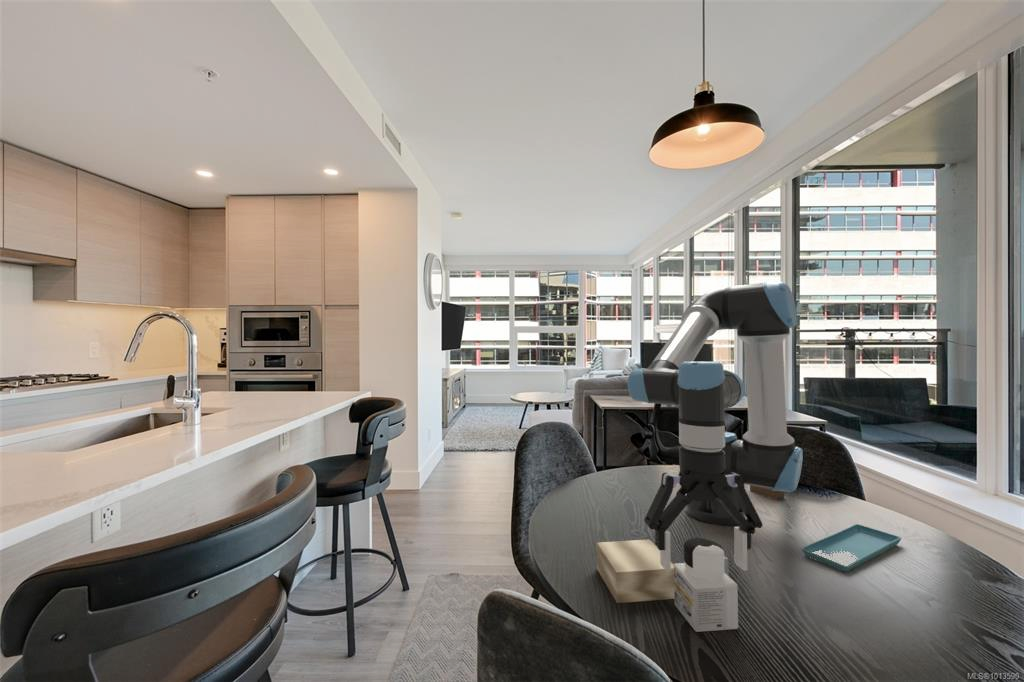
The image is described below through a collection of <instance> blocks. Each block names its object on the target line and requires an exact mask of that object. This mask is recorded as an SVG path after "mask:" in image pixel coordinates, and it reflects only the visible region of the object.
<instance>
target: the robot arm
mask: <svg viewBox="0 0 1024 682" xmlns="http://www.w3.org/2000/svg"><path fill="white" fill-rule="evenodd" d="M681 314H682V315H681V319H680V324H679V325H678V326H677V328H676V329H675V330H674V332H673V333H672V335H671V336H670V337H669V339H668V340H667V341H666V343H665V344H664V345H663V347H662V348H661V349H660V351H659V353H658V354H657V355H656V356H655V358H654V360H653V361H652V362H651V363H650V364H649V366H648V367H647V368H644V367H641V368H635V369H633V370H631V372H630V373H629V375H628V378H627V390H628V394H629V396H630V397H631V399H632V400H634V401H635V402H641V403H647V404H658V405H673V406H678V443H679V444H680V447H679V448H678V451H679V452H678V461H679V462H678V463H679V465H678V466H679V472H678V475H677V474H676V475H674V474H669V473H667V472H663V473H662V474H661V481H660V486H659V488H658V490H657V492H656V495H654V498H653V500H652V503H650V507H649V509H648V511H647V513H646V515H645V518H644V519H643V520H644V523H645V524H646V526H647V527H648V528H649V529H650V530H654V533H655V534H654V537H655V542H654V544H655V546H656V547H657V548H658V549H659V550H660V564H661V565H662V566H663V568H664V569H665V570H666V572H671V562H672V561H671V559H672V558H671V554H672V553H671V533H670V531H668V529H669V528H670V526H671V525H672V524H673V523H674V522H675V521H676V520H677V518H678V517H679V515H680V514H681V513H682V512H683V511H684V510H685V509H686V513H687V514H688V515H689V516H690V517H692V518H694V519H696V520H699V521H702V522H704V523H705V522H706V523H709V524H714V525H720V526H733V539H734V540H733V542H734V543H733V544H734V545H733V547H734V550H733V552H734V554H733V556H734V564H736V566H737V567H739V569H741V570H742V571H743V572H745V571H747V572H748V550H751V548H752V535H754V534H755V533H756V529H762V528H763V522H762V520H761V518H760V517H759V514H758V512H757V510H756V509H755V505H754V504H753V502H752V501H751V498H750V496H749V494H748V492H747V490H746V489H745V485H747V486H750V485H752V486H756V487H761V488H766V489H771V490H773V491H776V490H777V491H784V493H785V492H786V493H793V492H794V491H796V489H797V487H798V484H799V481H800V478H801V473H802V468H803V467H802V466H803V457H804V454H803V449H802V447H799V446H796V445H795V438H794V437H793V436H792V435H790V434H789V433H788V429H787V425H788V424H787V408H786V407H787V406H786V405H787V403H786V385H785V363H784V362H785V361H784V343H783V342H784V341H785V339H787V337H788V336H789V335H790V334H791V331H790V328H791V329H792V328H795V327H796V326H797V323H798V318H797V308H796V301H795V299H794V295H793V292H792V291H791V288H790V287H789V285H788V284H786V283H785V282H783V281H776V282H775V281H772V282H771V281H769V282H767V281H765V282H761V283H759V282H758V283H750V284H742V285H732V286H722V287H718V288H715V289H713V290H710V291H708V292H706V293H704V294H703V295H701V296H699V297H698V298H697V299H695V300H693V302H692V303H691V304H689V305H688V307H686V309H685V310H684V312H683V313H681ZM721 330H736V331H737V332H736V334H737V337H738V339H740V340H741V341H742V342H744V343H743V345H744V360H745V361H744V363H745V364H744V365H745V380H746V381H745V383H746V384H744V382H743V379H741V377H740V376H739V375H738V374H736V373H735V372H733V371H730V370H729V371H728V370H726V369H724V365H723V363H721V362H719V361H705V360H704V361H698V360H697V361H695V359H696V358H697V356H698V354H699V352H700V351H701V349H702V348H703V346H704V344H705V343H706V341H707V340H708V338H710V337H711V336H713V335H715V334H716V333H717V331H721ZM745 385H746V387H745ZM745 389H746V401H747V402H746V403H747V420H748V422H747V423H748V424H747V425H748V430H747V431H746V432H745V433H744V434H743V435H742V439H738V436H737V434H736V433H734V432H729V431H725V430H726V429H725V428H726V427H725V424H726V423H725V410H726V409H730V408H732V407H734V406H735V405H737V404H738V403H740V402H741V400H742V399H743V398H744V396H745ZM677 484H679V486H681V487H679V489H677V491H676V493H675V494H676V495H675V496H674V497H673V499H672V500H671V501H670V502H669V500H670V498H671V495H672V493H673V489H674V488H676V487H677ZM668 503H669V504H668ZM667 504H668V505H667ZM666 505H667V506H666ZM734 525H738V526H734Z"/></svg>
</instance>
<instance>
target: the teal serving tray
mask: <svg viewBox="0 0 1024 682" xmlns="http://www.w3.org/2000/svg"><path fill="white" fill-rule="evenodd" d="M901 540H902V537H900V536H898V535H896V534H895V535H894V534H892V533H889V532H886V531H882V530H878V529H876V528H872V527H869V526H866V525H862V524H859V523H856V524H853V525H851V526H849V527H846V528H844V529H842V530H840V531H838V532H835V533H833V534H830V535H828V536H826V537H824V538H821V539H819V540H817V541H814V542H812V543H810V544H808V545H805V546H803V547H801V551H802V552H803V554H804V555H805V557H807V556H808V557H811V558H813V559H812V560H814V559H816V560H818V561H817V562H819V561H820V562H819V563H821V562H823V563H825V564H824V565H826V564H827V565H826V566H828V565H830V566H829V567H831V566H832V567H831V568H833V567H835V568H834V569H836V568H837V569H836V570H838V569H840V570H839V571H841V570H842V571H841V572H843V571H847V572H849V571H851V570H853V569H855V568H857V567H859V566H861V565H863V564H865V563H866V561H867V562H868V560H869V561H870V560H872V559H874V558H876V557H878V556H880V555H882V554H883V553H886V552H888V551H889V550H892V549H893V548H894V547H896V546H897V545H898V544H899V543H900V542H901ZM841 549H842V550H841ZM819 550H822V553H826V554H829V556H830V554H833V553H834V552H835V553H837V552H838V553H839V552H840V551H842V552H843V551H845V552H847V551H848V552H850V553H851V554H852V555H855V556H856V557H857V558H858V560H857V559H856V558H855V559H856V561H855V562H853V563H851V564H849V565H848V566H844V565H841V564H839V563H837V562H834V561H832V560H829V559H827V558H824V557H822V556H819V555H817V554H814V553H812V552H815V551H819ZM824 551H825V552H824ZM833 551H834V552H833ZM836 551H837V552H836ZM831 552H832V553H831ZM822 553H821V554H822ZM840 553H841V552H840ZM843 553H844V552H843ZM853 553H854V554H853ZM826 554H825V555H826ZM832 556H833V555H832ZM808 557H807V558H808ZM851 557H853V556H851ZM811 558H810V559H811ZM816 560H815V561H816ZM864 562H865V563H864ZM823 563H822V564H823ZM862 563H863V564H862ZM860 564H861V565H860ZM858 565H859V566H858ZM856 566H857V567H856ZM854 567H855V568H854ZM852 568H853V569H852ZM850 569H851V570H850ZM848 570H849V571H848Z"/></svg>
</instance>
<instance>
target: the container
mask: <svg viewBox="0 0 1024 682" xmlns="http://www.w3.org/2000/svg"><path fill="white" fill-rule="evenodd" d="M724 556H725V550H724V548H723V547H722V546H721V545H720V544H719V543H717V542H716V541H713V540H712V539H708V538H703V537H693V538H688V539H686V540H685V541H684V542H683V562H680V563H679V562H678V563H676V562H675V563H673V564H674V599H673V600H674V605H675V607H676V608H677V609H678V611H679V612H680V613H681V615H682V616H683V617H684V618H685V620H686V621H687V622H688V624H689V625H690V626H691V628H693V630H694V631H695V632H696V633H699V632H713V631H714V632H715V631H726V630H738V629H739V602H738V601H739V600H738V599H739V598H738V596H739V595H738V594H739V593H738V584H737V582H735V581H734V580H733V579H732V578H731V577H730V575H729V576H727V575H726V574H725V573H724V572H725V568H724Z"/></svg>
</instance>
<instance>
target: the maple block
mask: <svg viewBox="0 0 1024 682" xmlns="http://www.w3.org/2000/svg"><path fill="white" fill-rule="evenodd" d="M674 564H675V563H673V562H672V561H671V572H666V570H665V569H664V568H663V566H662V565H661V564H660V550H659V549H658V548H657V547H656V544H655V542H653V540H651V539H648V538H647V539H635V540H631V539H630V540H619V541H618V540H617V541H601V542H600V541H599V542H598V541H597V542H596V566H597V567H596V570H597V572H598V573H599V575H600V577H601V578H602V580H603V581H604V583H605V585H606V587H607V589H608V591H609V592H610V593H611V595H612V597H613V599H614V600H615V602H616V604H620V603H621V604H623V603H634V602H647V601H659V600H661V601H663V600H672V599H673V600H674Z"/></svg>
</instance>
